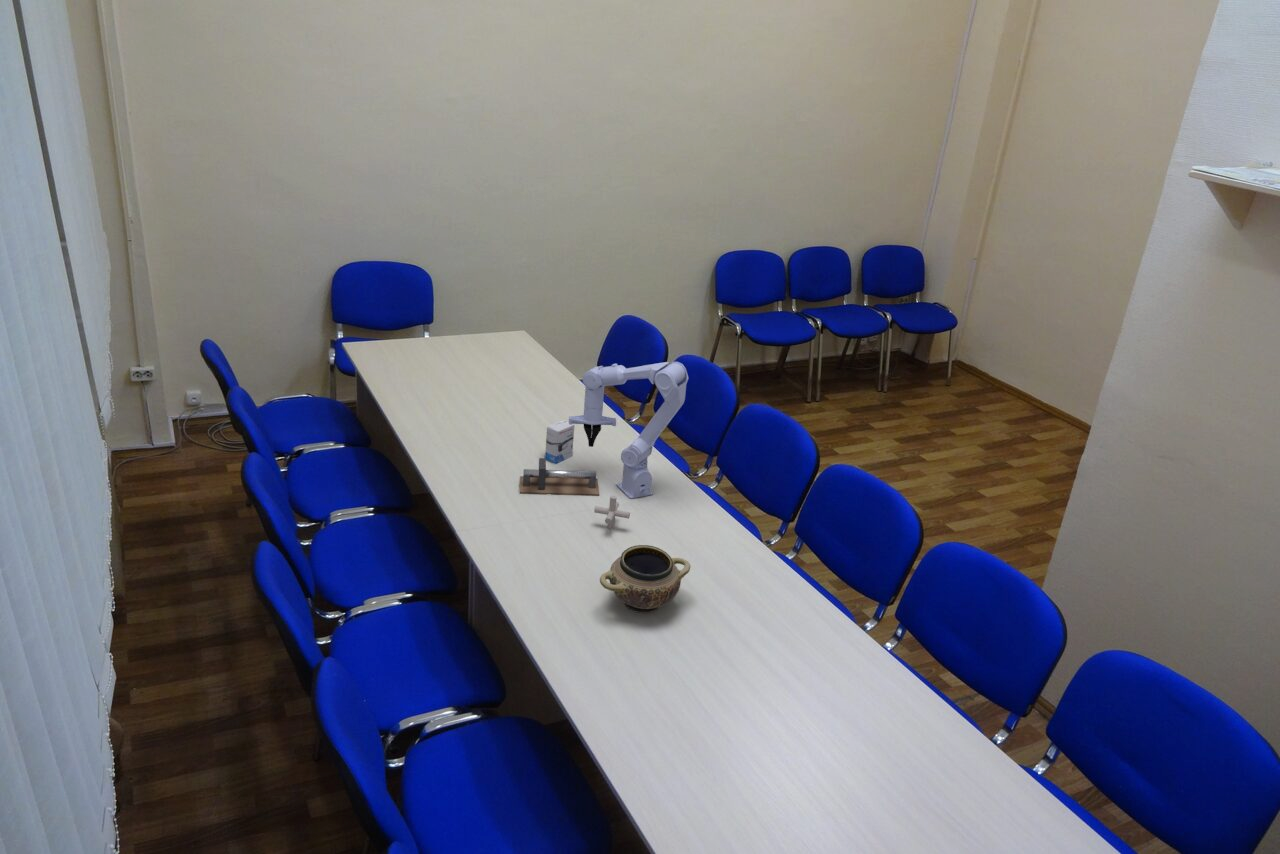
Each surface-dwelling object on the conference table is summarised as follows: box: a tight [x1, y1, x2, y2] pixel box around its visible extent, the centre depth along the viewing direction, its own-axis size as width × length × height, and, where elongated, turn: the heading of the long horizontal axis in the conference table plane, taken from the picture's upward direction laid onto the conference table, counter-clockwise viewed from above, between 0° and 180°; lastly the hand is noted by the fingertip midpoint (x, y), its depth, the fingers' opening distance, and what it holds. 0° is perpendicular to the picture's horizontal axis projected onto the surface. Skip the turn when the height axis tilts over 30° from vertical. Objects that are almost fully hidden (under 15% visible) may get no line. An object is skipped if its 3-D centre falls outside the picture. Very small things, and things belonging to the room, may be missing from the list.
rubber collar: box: [538, 457, 547, 489], centre depth 280 cm, size 2×7×7 cm, turn 6°
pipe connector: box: [593, 495, 631, 530], centre depth 262 cm, size 10×10×10 cm
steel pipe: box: [522, 468, 597, 488], centre depth 281 cm, size 22×3×5 cm, turn 96°
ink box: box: [544, 419, 575, 465], centre depth 298 cm, size 8×5×12 cm, turn 143°
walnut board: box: [519, 475, 600, 497], centre depth 283 cm, size 24×10×1 cm, turn 96°
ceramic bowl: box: [599, 544, 691, 614], centre depth 230 cm, size 24×18×15 cm
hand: (590, 445), depth 287 cm, fingers closed
